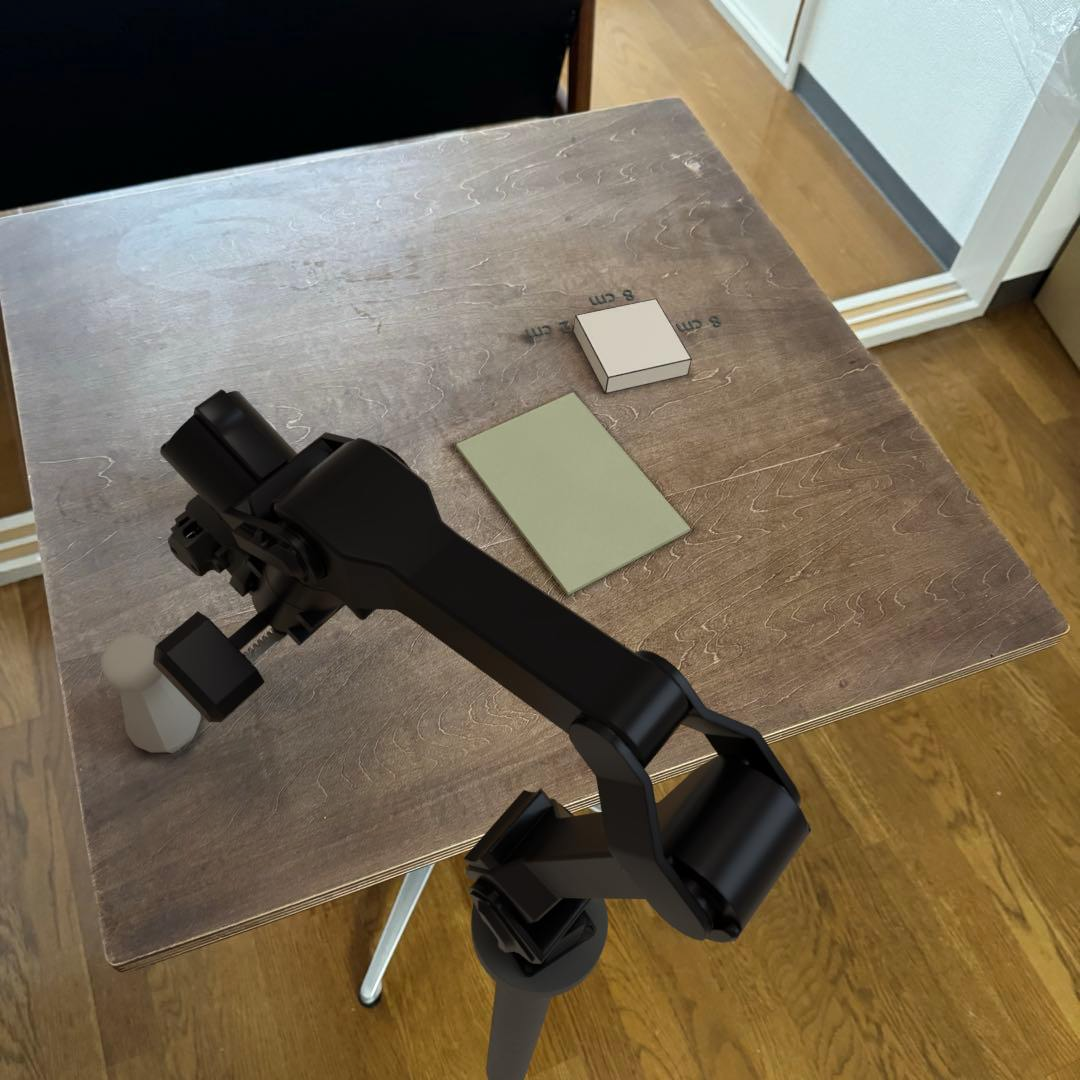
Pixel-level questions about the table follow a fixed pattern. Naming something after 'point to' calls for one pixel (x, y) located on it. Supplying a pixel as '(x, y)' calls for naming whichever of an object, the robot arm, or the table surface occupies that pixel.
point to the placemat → (572, 491)
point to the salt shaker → (148, 696)
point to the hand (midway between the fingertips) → (275, 623)
